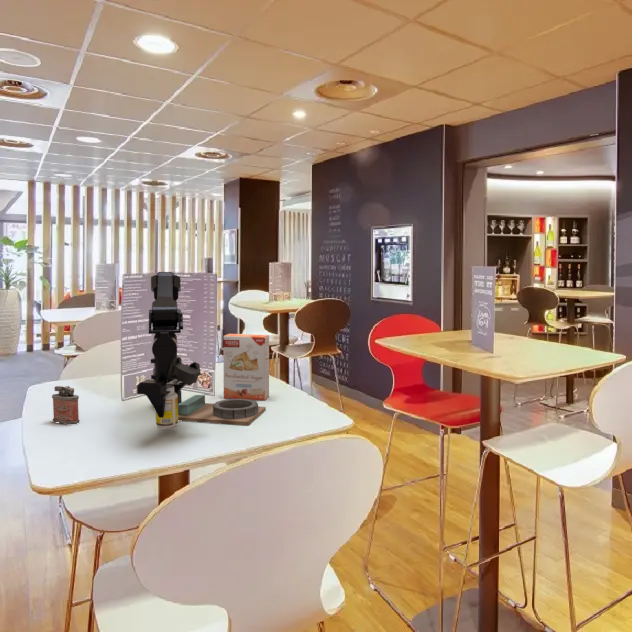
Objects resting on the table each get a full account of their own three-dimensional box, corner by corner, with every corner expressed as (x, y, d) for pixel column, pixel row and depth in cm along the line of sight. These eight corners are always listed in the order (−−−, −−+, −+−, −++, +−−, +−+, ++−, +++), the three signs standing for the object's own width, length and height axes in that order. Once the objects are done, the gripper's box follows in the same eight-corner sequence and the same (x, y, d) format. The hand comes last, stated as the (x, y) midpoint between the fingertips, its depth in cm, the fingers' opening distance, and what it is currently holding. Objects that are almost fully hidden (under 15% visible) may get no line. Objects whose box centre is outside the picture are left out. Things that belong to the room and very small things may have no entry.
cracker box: (223, 399, 169) (222, 335, 167) (229, 394, 175) (228, 333, 173) (265, 401, 167) (264, 336, 165) (269, 396, 173) (269, 334, 171)
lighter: (82, 422, 143) (81, 386, 142) (73, 425, 140) (71, 388, 139) (59, 419, 146) (58, 384, 145) (49, 422, 142) (48, 386, 142)
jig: (169, 420, 145) (169, 406, 145) (194, 405, 161) (193, 392, 161) (248, 425, 141) (248, 411, 140) (265, 410, 156) (265, 396, 156)
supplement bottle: (170, 421, 138) (169, 383, 138) (182, 425, 135) (181, 386, 134) (151, 425, 134) (150, 386, 133) (163, 430, 131) (163, 390, 130)
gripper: (178, 361, 122) (179, 426, 124) (210, 349, 140) (210, 406, 142) (134, 359, 124) (136, 423, 126) (171, 348, 143) (172, 404, 144)
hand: (166, 414), depth 134 cm, fingers closed on supplement bottle, 6 cm apart
